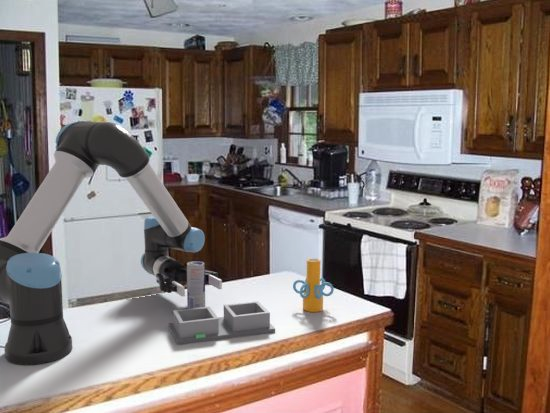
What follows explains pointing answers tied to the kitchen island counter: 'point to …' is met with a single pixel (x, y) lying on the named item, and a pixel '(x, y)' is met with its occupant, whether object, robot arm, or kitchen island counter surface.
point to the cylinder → (313, 287)
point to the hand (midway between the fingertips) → (202, 288)
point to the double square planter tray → (220, 323)
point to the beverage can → (195, 284)
